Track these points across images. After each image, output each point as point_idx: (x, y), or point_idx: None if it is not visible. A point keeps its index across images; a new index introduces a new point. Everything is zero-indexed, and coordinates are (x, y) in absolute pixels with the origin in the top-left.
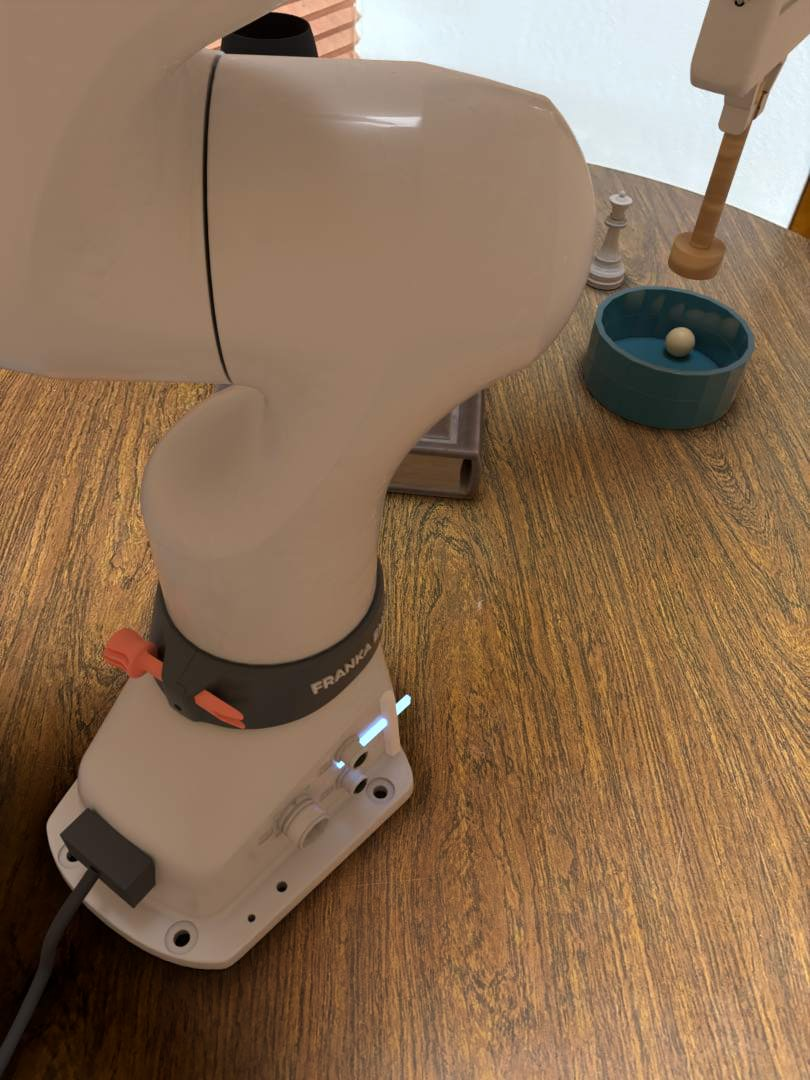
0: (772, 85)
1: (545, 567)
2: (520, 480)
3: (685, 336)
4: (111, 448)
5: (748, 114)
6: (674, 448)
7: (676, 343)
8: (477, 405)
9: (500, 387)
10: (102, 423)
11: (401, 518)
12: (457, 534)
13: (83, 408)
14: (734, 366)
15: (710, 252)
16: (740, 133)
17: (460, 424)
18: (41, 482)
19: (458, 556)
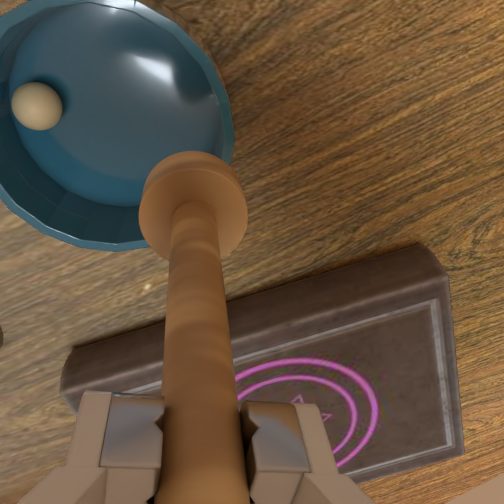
0: (65, 482)
1: (497, 152)
2: (378, 211)
3: (43, 105)
4: (428, 467)
5: (331, 457)
6: (257, 57)
7: (58, 112)
8: (369, 302)
9: (232, 277)
10: (404, 483)
11: (457, 284)
12: (468, 238)
13: (392, 497)
14: (164, 20)
15: (219, 195)
16: (312, 405)
17: (406, 305)
18: (470, 476)
19: (495, 227)
